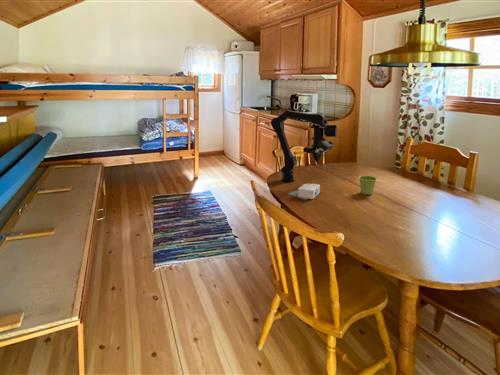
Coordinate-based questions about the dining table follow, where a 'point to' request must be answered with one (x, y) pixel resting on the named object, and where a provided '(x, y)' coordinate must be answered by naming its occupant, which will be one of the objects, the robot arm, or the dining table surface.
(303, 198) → the mat
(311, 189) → the ink box
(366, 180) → the plant pot
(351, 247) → the dining table surface
